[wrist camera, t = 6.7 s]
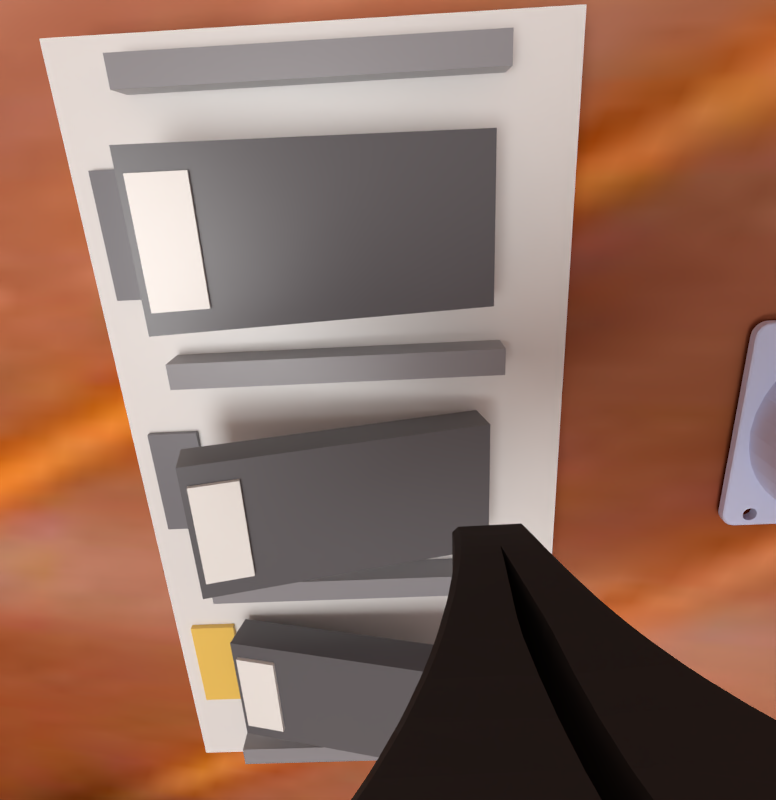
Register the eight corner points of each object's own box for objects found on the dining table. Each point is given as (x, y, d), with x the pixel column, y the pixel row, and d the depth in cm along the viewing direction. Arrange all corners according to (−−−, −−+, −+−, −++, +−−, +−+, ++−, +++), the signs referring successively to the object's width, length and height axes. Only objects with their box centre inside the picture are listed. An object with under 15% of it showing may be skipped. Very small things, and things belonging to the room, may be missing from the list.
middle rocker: (476, 410, 18) (491, 426, 17) (475, 527, 20) (489, 550, 19) (181, 449, 17) (174, 470, 15) (206, 574, 18) (202, 601, 17)
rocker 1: (481, 131, 15) (498, 127, 14) (480, 297, 17) (495, 307, 15) (123, 148, 14) (107, 144, 13) (158, 325, 15) (147, 338, 14)
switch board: (559, 28, 17) (599, -8, 13) (527, 692, 26) (546, 766, 23) (87, 57, 17) (15, 29, 14) (222, 701, 27) (199, 775, 23)
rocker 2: (491, 652, 19) (487, 684, 18) (489, 746, 21) (486, 781, 20) (245, 619, 21) (228, 646, 20) (261, 706, 23) (245, 736, 22)
